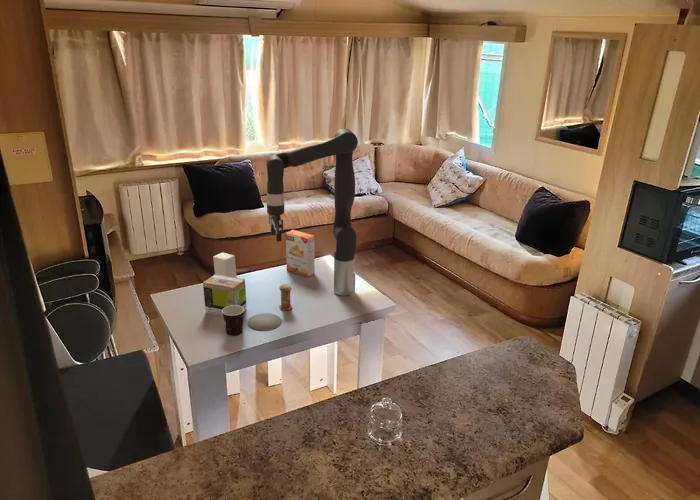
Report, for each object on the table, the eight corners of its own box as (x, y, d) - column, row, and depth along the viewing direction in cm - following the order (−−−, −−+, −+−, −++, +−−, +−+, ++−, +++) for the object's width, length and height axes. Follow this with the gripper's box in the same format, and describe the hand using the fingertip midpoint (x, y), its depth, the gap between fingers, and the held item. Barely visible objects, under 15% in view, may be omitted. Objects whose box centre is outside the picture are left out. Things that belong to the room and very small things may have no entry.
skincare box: (237, 285, 258) (235, 255, 252) (227, 290, 252) (225, 260, 247) (224, 281, 262) (222, 251, 256) (214, 286, 257) (212, 255, 251)
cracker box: (286, 270, 275) (285, 232, 267) (293, 266, 280) (293, 228, 272) (307, 277, 268) (307, 238, 260) (315, 273, 272) (315, 234, 265)
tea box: (247, 309, 236) (245, 278, 231) (235, 319, 227) (233, 288, 222) (217, 303, 241) (215, 273, 235) (204, 313, 232) (202, 282, 226)
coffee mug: (226, 326, 222) (225, 304, 218) (247, 327, 222) (246, 305, 218) (219, 341, 211) (217, 318, 208) (241, 342, 211) (239, 319, 207)
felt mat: (276, 311, 235) (276, 310, 235) (285, 327, 223) (285, 326, 223) (244, 317, 229) (244, 316, 229) (252, 333, 218) (252, 332, 217)
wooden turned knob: (290, 304, 242) (289, 283, 238) (293, 309, 237) (293, 288, 233) (277, 306, 240) (277, 285, 236) (281, 311, 235) (281, 290, 231)
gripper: (288, 206, 228) (289, 242, 234) (279, 197, 240) (279, 231, 246) (271, 208, 225) (272, 244, 231) (262, 198, 237) (263, 233, 243)
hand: (276, 237), depth 239 cm, fingers open, 8 cm apart
